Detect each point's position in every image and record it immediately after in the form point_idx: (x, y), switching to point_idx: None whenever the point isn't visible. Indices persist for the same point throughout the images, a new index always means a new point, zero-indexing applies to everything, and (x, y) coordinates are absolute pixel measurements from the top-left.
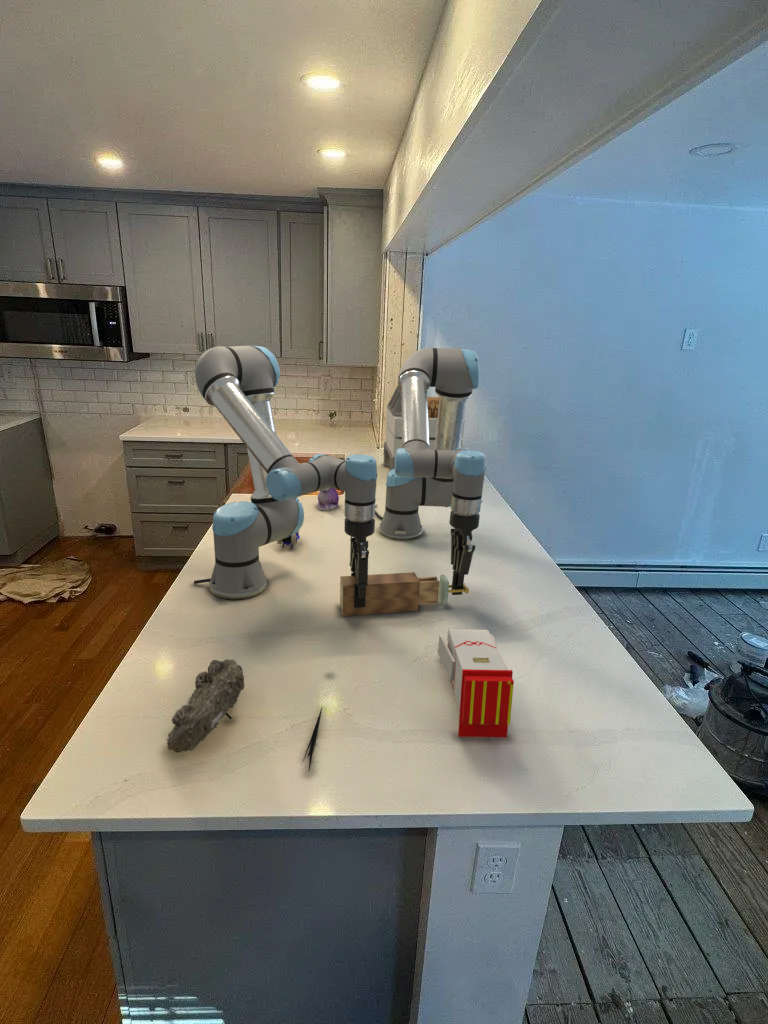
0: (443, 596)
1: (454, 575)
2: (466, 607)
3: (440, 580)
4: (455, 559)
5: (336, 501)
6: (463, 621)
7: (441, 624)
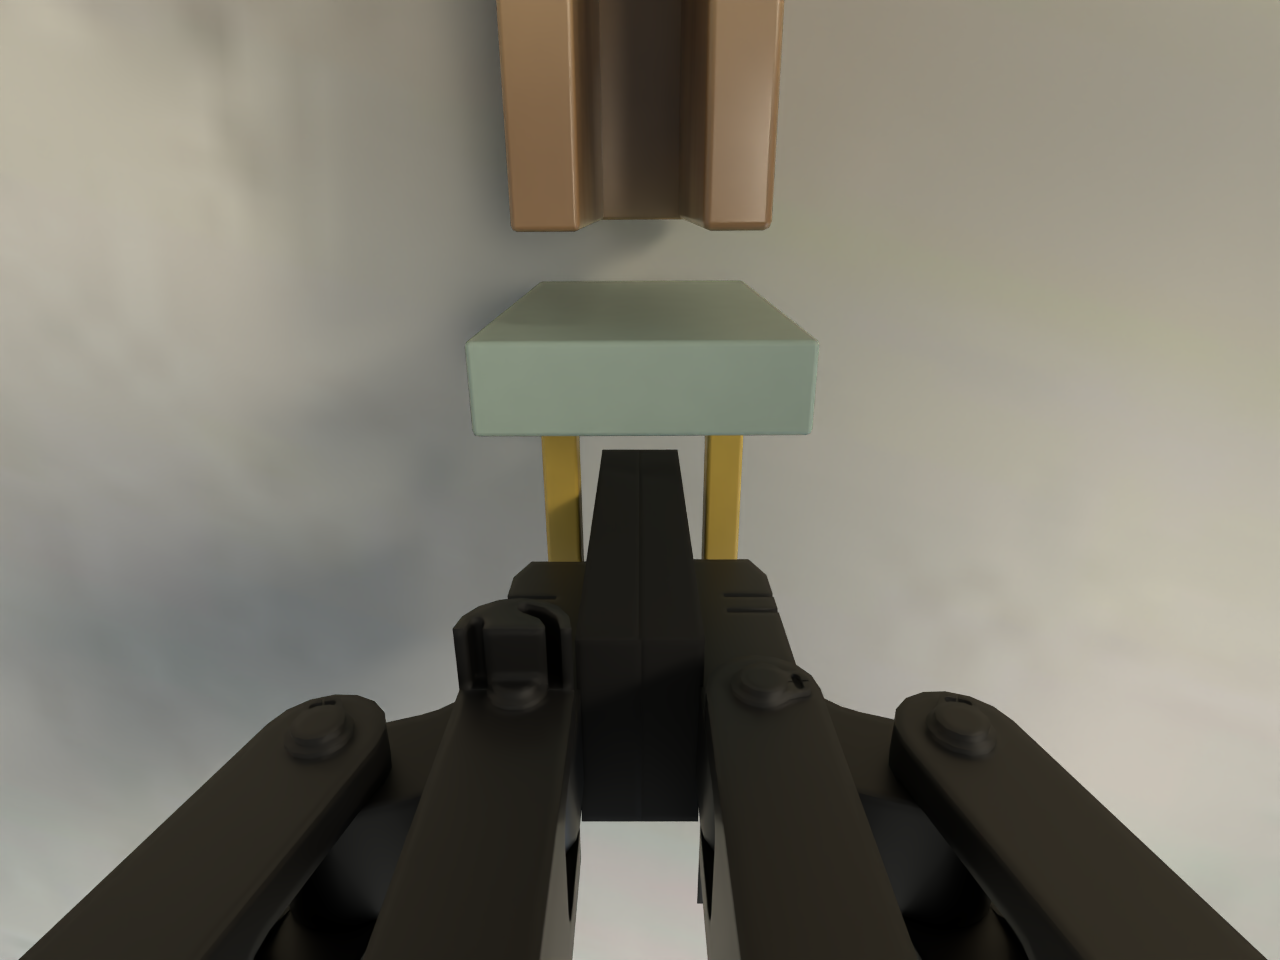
0: (527, 295)
1: (593, 606)
2: (542, 545)
3: (750, 321)
4: (732, 948)
5: None
6: (245, 423)
7: (154, 140)
